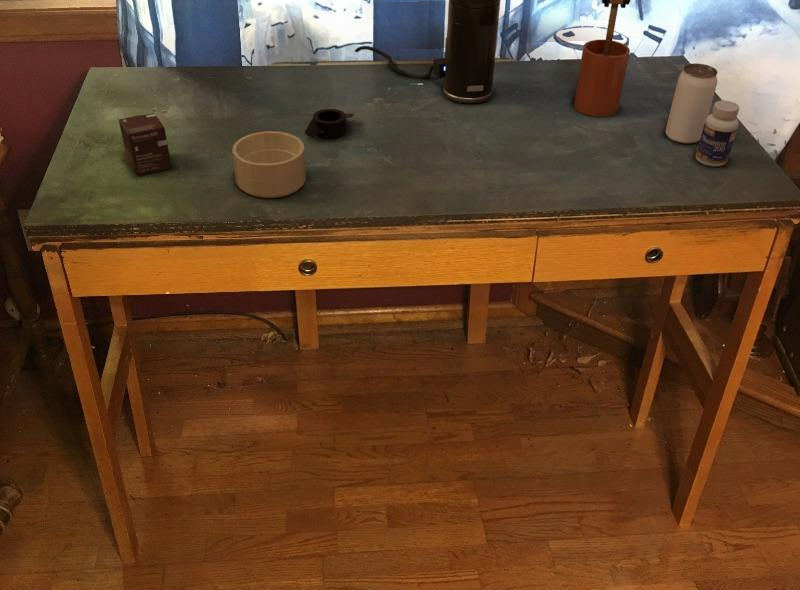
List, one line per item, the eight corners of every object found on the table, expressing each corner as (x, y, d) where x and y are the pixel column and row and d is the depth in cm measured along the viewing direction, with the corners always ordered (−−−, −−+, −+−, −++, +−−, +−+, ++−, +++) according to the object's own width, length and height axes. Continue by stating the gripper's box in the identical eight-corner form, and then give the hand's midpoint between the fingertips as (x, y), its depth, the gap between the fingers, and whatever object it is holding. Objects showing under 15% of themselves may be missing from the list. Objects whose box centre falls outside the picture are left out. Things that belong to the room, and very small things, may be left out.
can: (702, 146, 151) (721, 79, 143) (665, 142, 152) (681, 75, 143) (700, 130, 156) (718, 64, 147) (664, 126, 156) (680, 60, 148)
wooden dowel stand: (594, 68, 154) (609, -23, 144) (592, 61, 157) (607, -29, 147) (616, 69, 153) (633, -22, 144) (614, 62, 156) (630, -28, 147)
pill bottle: (690, 161, 147) (705, 107, 140) (701, 149, 150) (716, 95, 143) (721, 170, 145) (737, 115, 138) (731, 158, 148) (748, 104, 141)
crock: (565, 101, 163) (574, 43, 156) (602, 94, 166) (612, 36, 158) (589, 119, 158) (599, 60, 150) (626, 112, 160) (639, 53, 153)
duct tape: (298, 125, 154) (297, 109, 152) (352, 119, 156) (352, 103, 154) (306, 144, 149) (305, 129, 147) (362, 138, 151) (362, 122, 149)
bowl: (228, 172, 141) (224, 138, 137) (293, 160, 145) (290, 126, 140) (248, 205, 134) (244, 170, 130) (315, 191, 137) (314, 157, 133)
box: (136, 176, 140) (127, 134, 134) (126, 160, 143) (117, 118, 138) (172, 168, 142) (165, 126, 137) (162, 153, 146) (154, 111, 140)
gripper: (675, -111, 139) (652, 1, 151) (589, -115, 140) (573, -4, 152) (681, -99, 134) (657, 16, 146) (592, -103, 135) (574, 11, 147)
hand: (614, 5), depth 149 cm, fingers closed on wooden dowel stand, 2 cm apart
